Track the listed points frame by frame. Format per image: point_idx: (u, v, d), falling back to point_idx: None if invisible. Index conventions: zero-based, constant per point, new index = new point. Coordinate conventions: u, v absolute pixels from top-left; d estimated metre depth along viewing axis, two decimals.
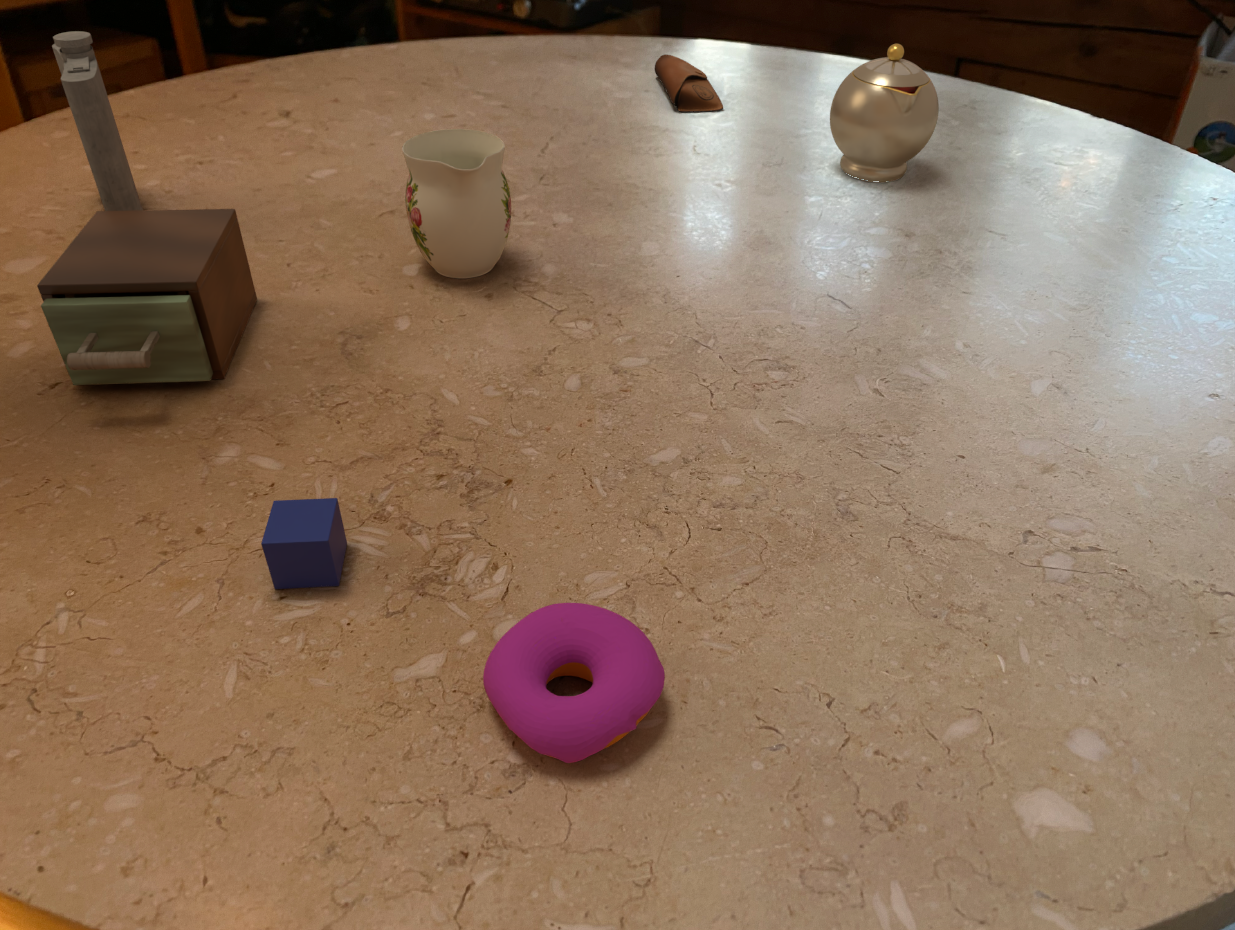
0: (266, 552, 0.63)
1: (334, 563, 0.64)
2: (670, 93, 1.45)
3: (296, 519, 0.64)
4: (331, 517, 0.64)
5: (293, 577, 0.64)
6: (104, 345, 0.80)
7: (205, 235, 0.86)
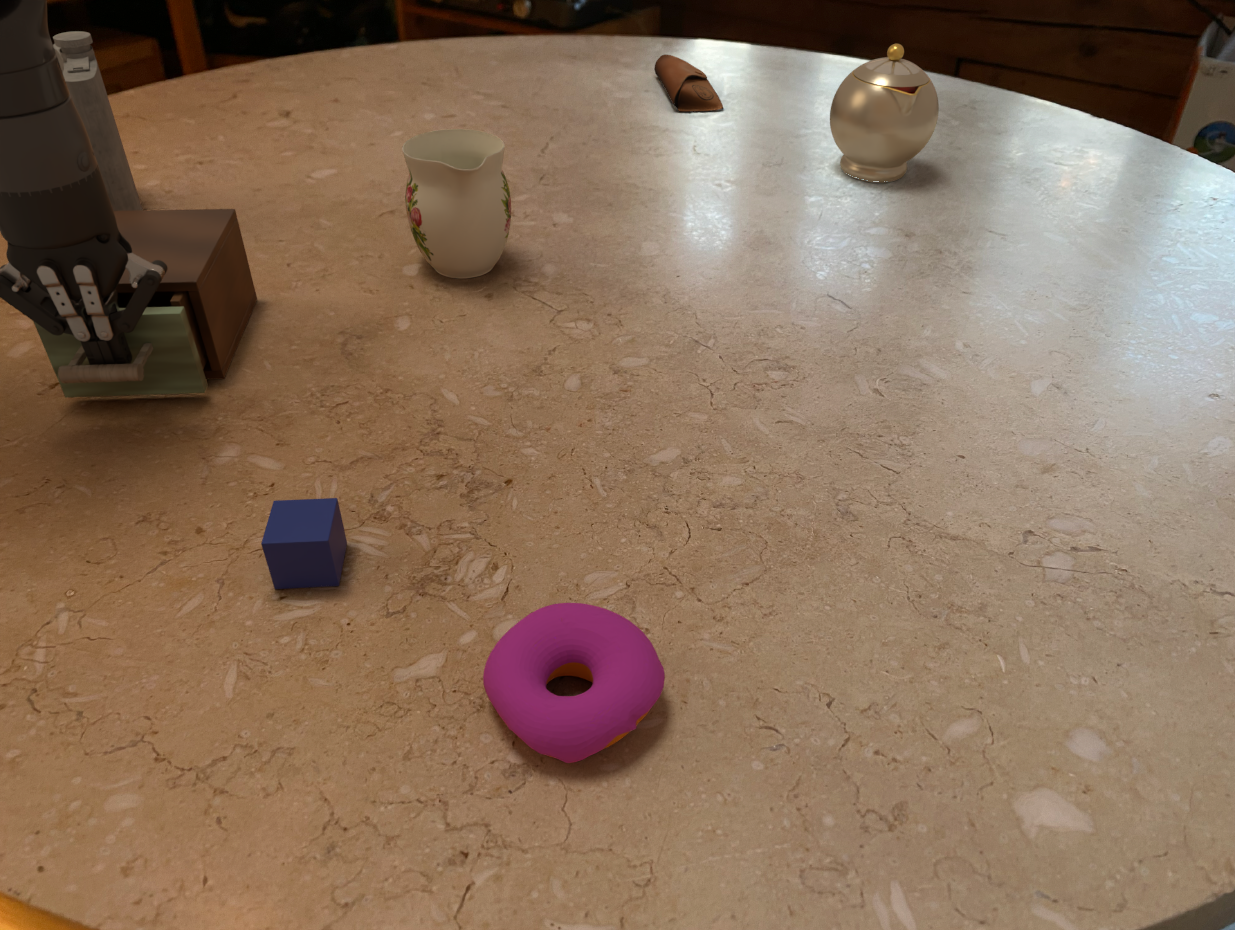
0: (266, 552, 0.63)
1: (334, 563, 0.64)
2: (670, 93, 1.45)
3: (296, 519, 0.64)
4: (331, 517, 0.64)
5: (293, 577, 0.64)
6: None
7: (205, 235, 0.86)
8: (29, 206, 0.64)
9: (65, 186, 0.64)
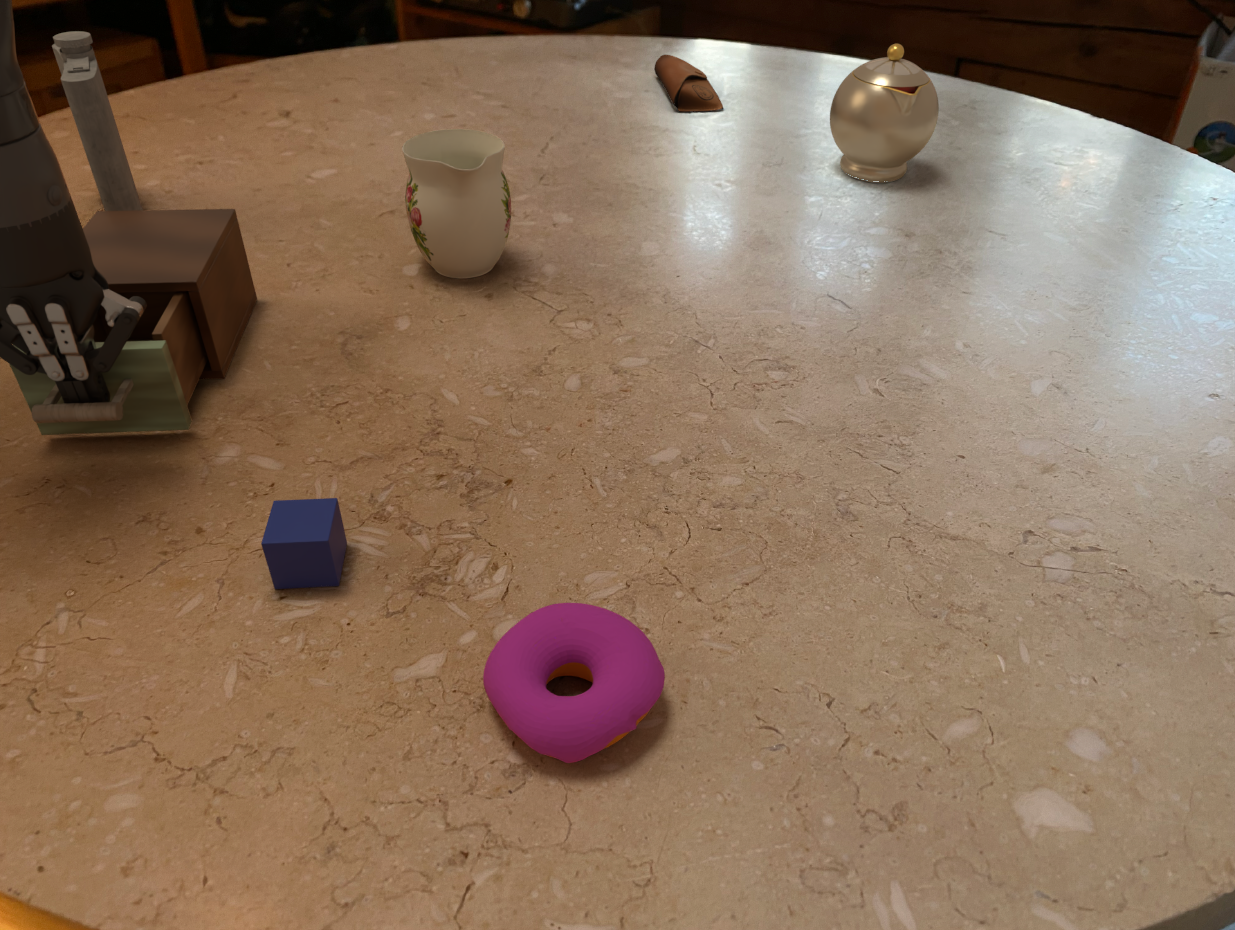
0: (266, 552, 0.63)
1: (334, 563, 0.64)
2: (670, 93, 1.45)
3: (296, 519, 0.64)
4: (331, 517, 0.64)
5: (293, 577, 0.64)
6: None
7: (205, 235, 0.86)
8: None
9: (34, 222, 0.60)
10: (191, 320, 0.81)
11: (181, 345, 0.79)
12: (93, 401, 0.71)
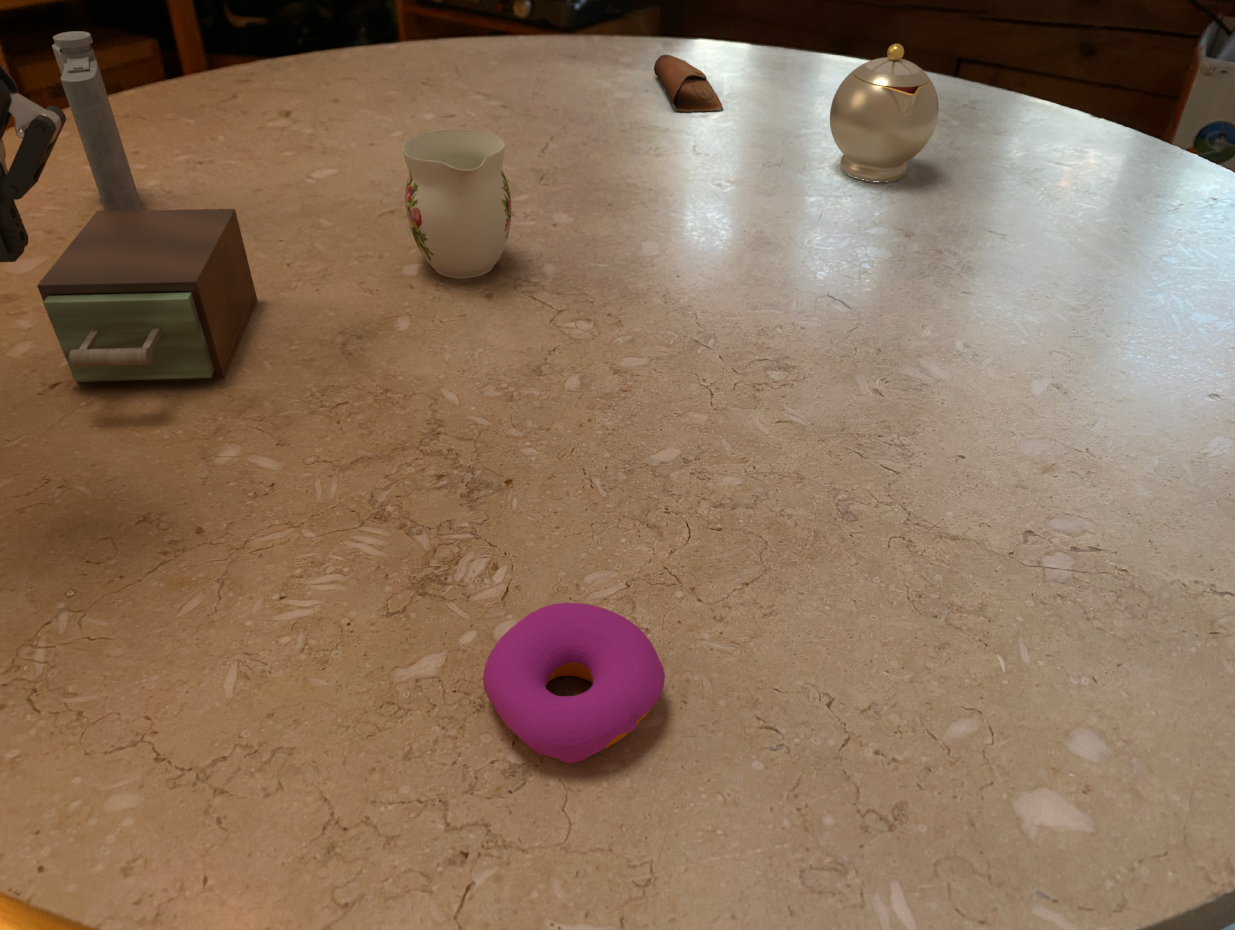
0: None
1: None
2: (669, 93, 1.44)
3: None
4: None
5: None
6: (106, 342, 0.80)
7: (205, 235, 0.86)
8: None
9: None
10: None
11: None
12: (6, 239, 0.61)
